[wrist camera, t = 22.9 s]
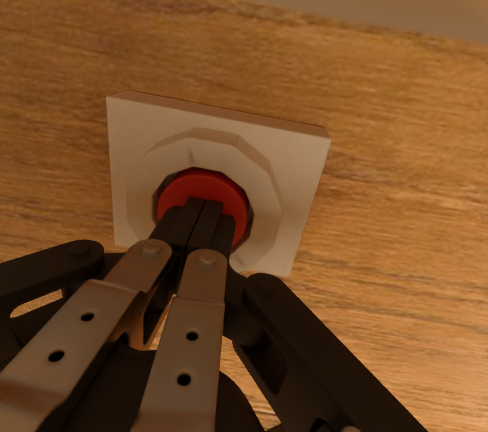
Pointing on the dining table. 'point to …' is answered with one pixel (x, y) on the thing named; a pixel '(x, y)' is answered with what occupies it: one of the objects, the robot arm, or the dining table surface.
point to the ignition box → (219, 159)
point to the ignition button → (207, 194)
